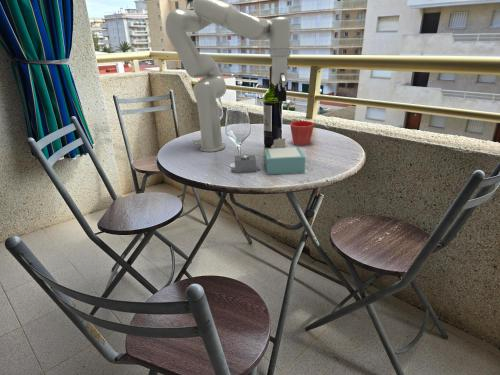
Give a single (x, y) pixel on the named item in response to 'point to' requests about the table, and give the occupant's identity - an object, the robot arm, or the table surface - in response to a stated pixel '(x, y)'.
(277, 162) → the stand
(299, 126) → the flower pot
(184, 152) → the table surface
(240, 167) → the block
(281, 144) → the architectural model
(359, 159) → the table surface
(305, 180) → the table surface
